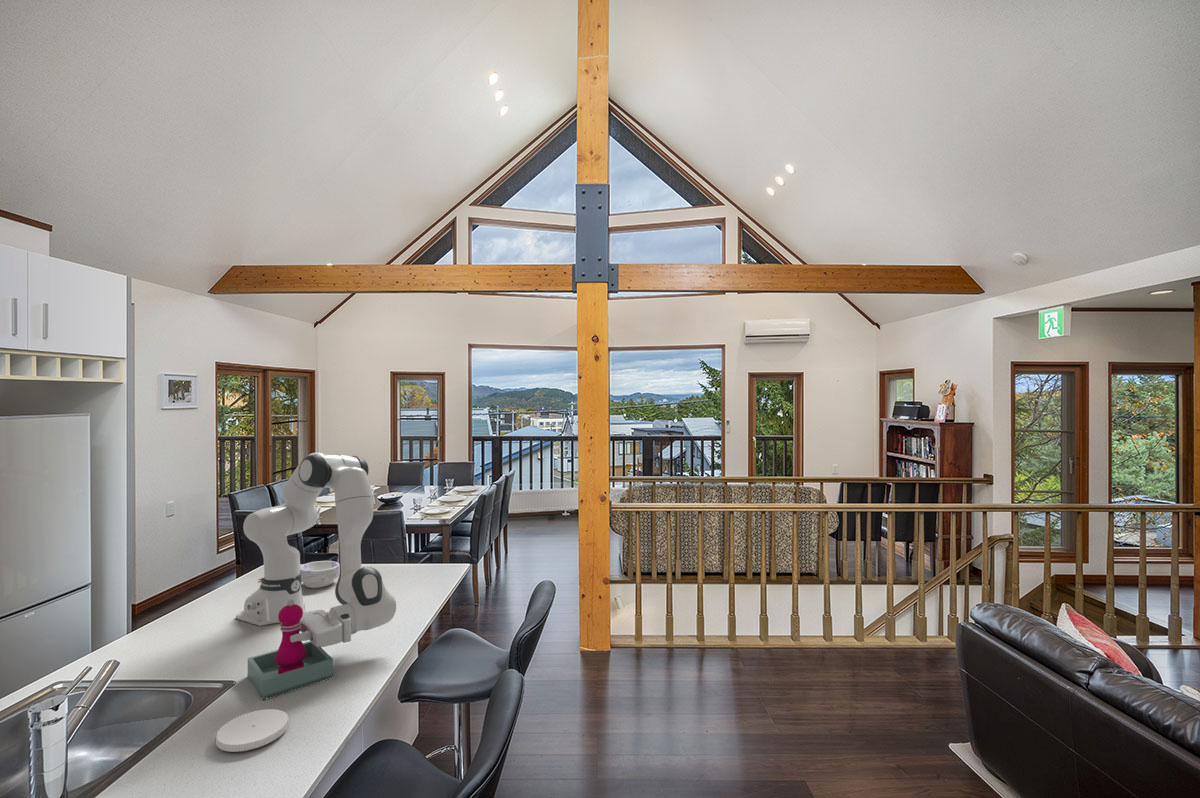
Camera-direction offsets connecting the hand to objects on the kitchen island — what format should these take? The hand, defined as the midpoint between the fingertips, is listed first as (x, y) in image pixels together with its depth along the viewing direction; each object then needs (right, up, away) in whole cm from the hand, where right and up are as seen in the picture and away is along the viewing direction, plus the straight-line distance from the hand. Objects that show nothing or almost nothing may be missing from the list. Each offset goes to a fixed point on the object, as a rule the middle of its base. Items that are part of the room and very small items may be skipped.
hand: (287, 635), depth 155 cm
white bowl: (-30, -12, +78) cm, 84 cm away
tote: (+1, -12, +1) cm, 12 cm away
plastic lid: (+7, -12, -26) cm, 30 cm away
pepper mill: (+1, -11, +1) cm, 11 cm away
